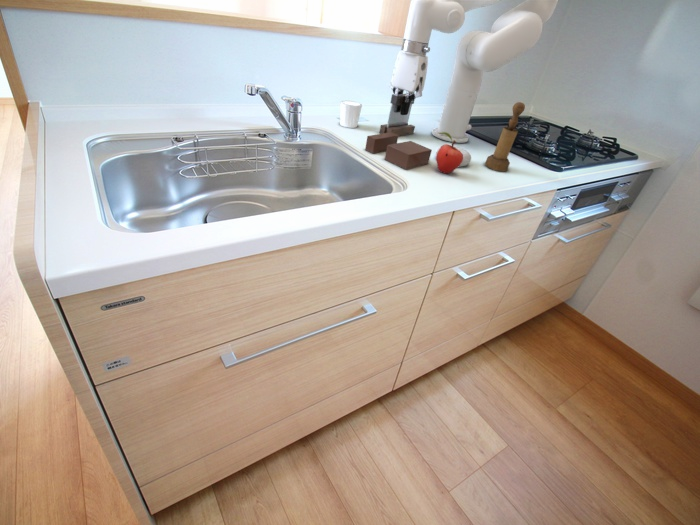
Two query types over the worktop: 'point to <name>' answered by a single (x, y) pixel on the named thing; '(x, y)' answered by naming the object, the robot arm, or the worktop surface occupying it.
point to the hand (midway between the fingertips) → (400, 112)
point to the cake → (407, 154)
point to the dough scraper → (398, 111)
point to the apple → (448, 157)
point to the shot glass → (350, 113)
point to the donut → (465, 156)
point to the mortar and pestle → (505, 142)
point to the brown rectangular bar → (380, 142)
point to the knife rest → (398, 129)
